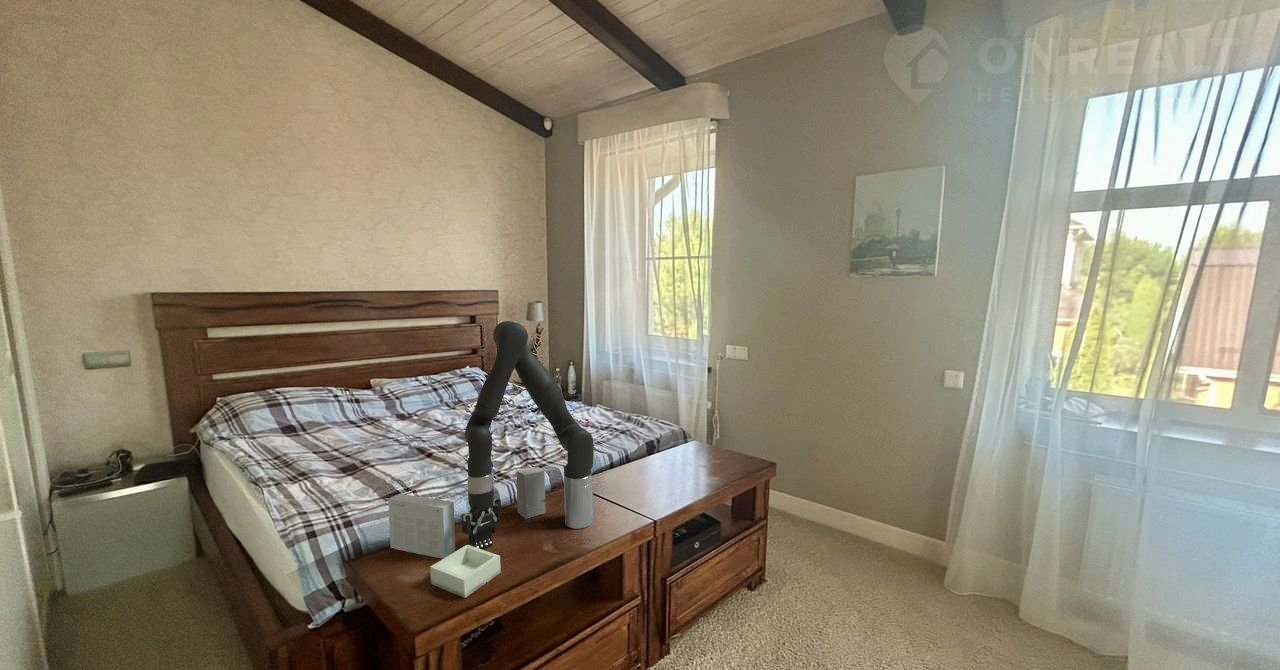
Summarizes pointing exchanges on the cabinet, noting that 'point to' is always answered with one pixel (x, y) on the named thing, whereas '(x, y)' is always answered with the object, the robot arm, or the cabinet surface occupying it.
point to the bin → (465, 570)
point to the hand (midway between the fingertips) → (483, 538)
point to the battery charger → (484, 531)
